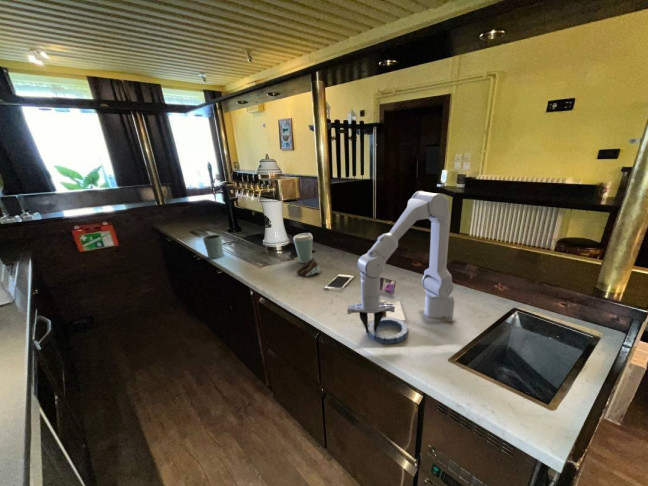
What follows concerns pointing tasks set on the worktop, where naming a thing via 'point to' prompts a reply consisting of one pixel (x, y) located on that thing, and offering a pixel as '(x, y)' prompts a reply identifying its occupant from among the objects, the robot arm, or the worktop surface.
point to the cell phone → (339, 281)
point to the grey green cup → (213, 246)
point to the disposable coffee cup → (304, 246)
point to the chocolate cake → (309, 268)
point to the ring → (388, 338)
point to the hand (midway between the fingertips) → (371, 331)
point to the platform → (397, 314)
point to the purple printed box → (387, 285)
